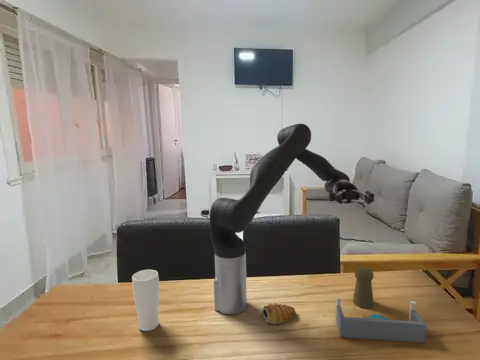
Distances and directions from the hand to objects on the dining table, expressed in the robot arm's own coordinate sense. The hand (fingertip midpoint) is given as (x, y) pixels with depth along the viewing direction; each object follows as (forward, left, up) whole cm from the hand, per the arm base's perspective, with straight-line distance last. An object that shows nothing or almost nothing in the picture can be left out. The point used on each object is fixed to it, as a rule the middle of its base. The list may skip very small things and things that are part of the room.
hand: (355, 201), depth 95 cm
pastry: (-24, -18, -30) cm, 43 cm away
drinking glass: (-59, -26, -30) cm, 71 cm away
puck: (+2, -21, -30) cm, 37 cm away
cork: (+2, -8, -30) cm, 31 cm away
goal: (+2, -21, -30) cm, 36 cm away
